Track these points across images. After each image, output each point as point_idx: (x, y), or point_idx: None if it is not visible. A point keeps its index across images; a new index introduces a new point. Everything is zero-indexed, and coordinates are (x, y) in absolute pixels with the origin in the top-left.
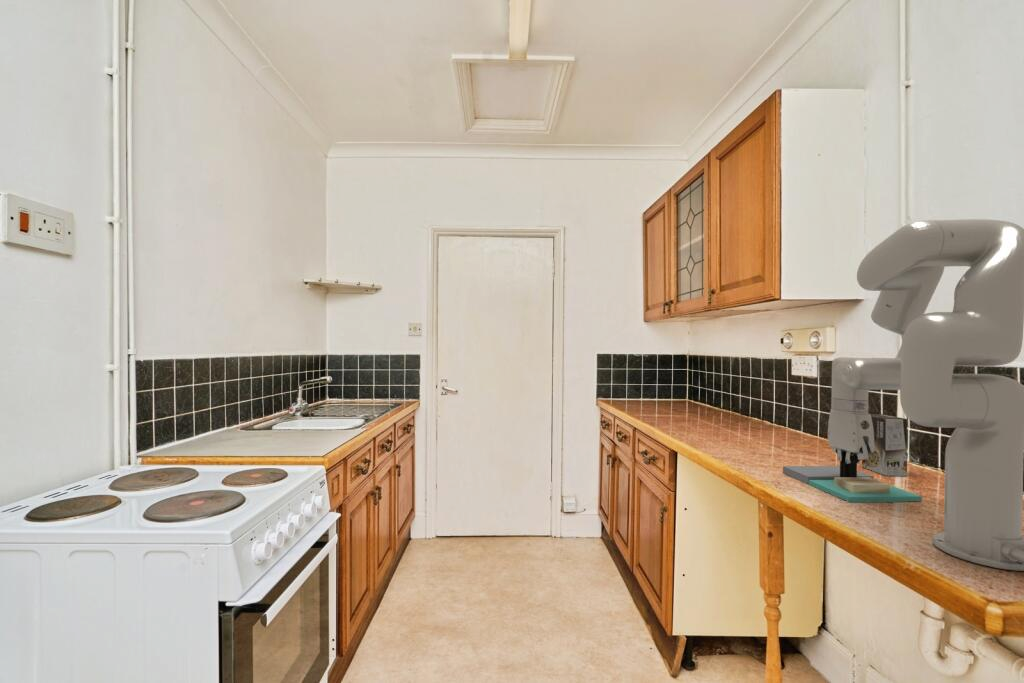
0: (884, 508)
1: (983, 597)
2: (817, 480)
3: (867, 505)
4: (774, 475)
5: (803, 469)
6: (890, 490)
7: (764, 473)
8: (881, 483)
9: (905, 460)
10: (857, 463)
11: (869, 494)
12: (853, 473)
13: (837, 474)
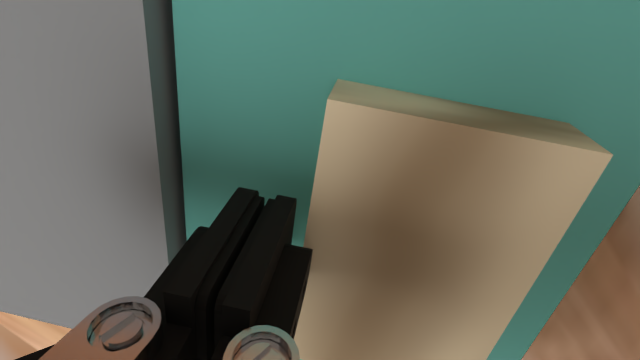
0: (635, 324)
1: None
2: None
3: (554, 351)
4: (61, 329)
5: (12, 258)
6: (525, 27)
7: (36, 340)
8: (536, 190)
9: None
10: (288, 345)
11: None
12: (306, 280)
13: (103, 144)
